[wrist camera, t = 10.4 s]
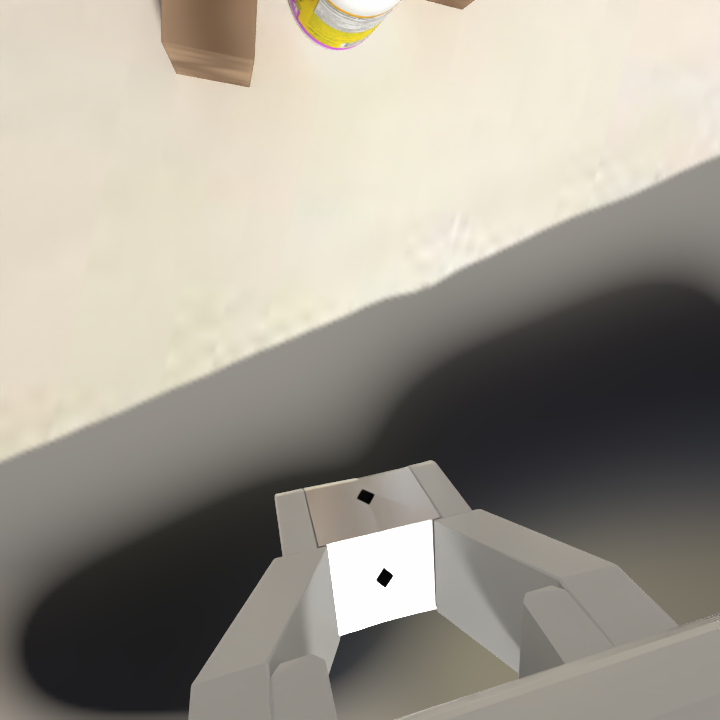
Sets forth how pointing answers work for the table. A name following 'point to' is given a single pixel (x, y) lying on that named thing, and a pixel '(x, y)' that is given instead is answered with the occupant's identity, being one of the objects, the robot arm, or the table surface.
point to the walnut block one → (210, 38)
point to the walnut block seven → (454, 3)
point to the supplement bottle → (339, 20)
